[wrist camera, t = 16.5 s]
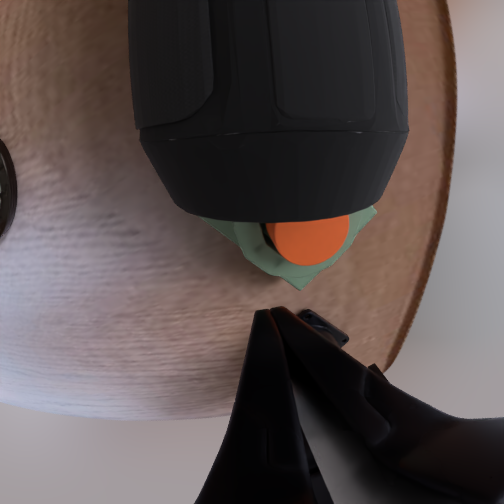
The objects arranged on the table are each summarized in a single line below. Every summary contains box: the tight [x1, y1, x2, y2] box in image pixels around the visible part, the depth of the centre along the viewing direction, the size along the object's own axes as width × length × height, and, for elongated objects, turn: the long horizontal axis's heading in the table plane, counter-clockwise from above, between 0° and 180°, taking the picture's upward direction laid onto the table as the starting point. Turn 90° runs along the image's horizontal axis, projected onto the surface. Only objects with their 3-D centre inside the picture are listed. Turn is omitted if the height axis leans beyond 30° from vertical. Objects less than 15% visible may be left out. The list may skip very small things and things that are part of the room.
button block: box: [198, 205, 377, 291], centre depth 15 cm, size 9×7×4 cm
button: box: [265, 215, 349, 266], centre depth 13 cm, size 4×4×2 cm
